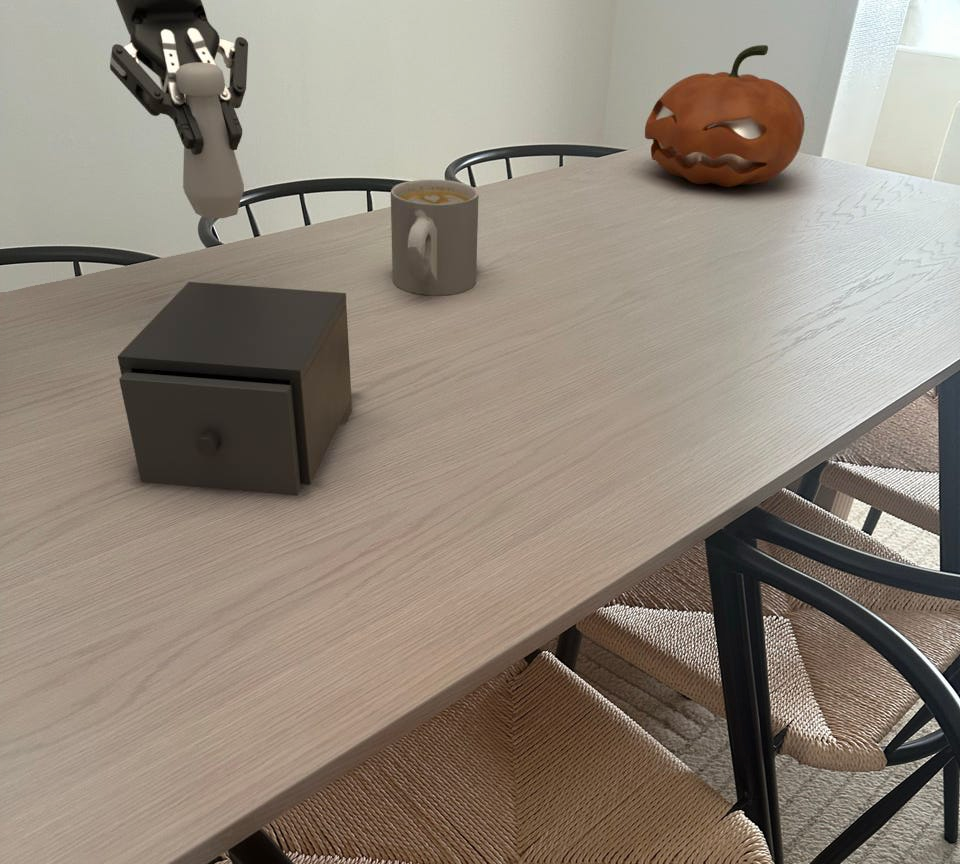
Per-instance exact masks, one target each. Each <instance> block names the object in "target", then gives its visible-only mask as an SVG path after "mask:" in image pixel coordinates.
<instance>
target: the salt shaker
mask: <svg viewBox="0 0 960 864" xmlns="http://www.w3.org/2000/svg"><path fill="white" fill-rule="evenodd" d="M176 81H177V86H178V89H179V91H180V92H181V93H183V94H184V96H185V103H186V105H189V107H190V109H191V112H192V115H193V116H194V117H195V119H196V122H197V124H198V127H199V130H200V132H201V135H202V137H203V141H204V145H203V149H202V153H200V154H196V155H193V154H192V152H191V149H186V147H185V146H184V145H183V173H182V189H183V192H184V194H185V196H186V199H187V200H188V202H189V204H190V206H191V207H192V209H193V211H194V213H195V214H196V215H198V216H200V217H202V218H204V219H226V218H229V217H234V216H236V215H238V213H239V208H240V204H241V200H242V198H243V195H244V193H245V184H244V181H243V177H242V173H241V170H240V167H239V164H238V159H237V156H236V152H235V150H232V149H230V143H229V137H228V132H227V129H226V125H225V121H224V117H223V112H222V108H221V104H220V101H219V97H218V95H220V94H222V93H223V92H224V89H225V85H226V83H225V75H224V72H223V70H222V69H221V68H220V67H219V65H217V66H216V65H213V64H210V63H188V64H184V65H181V66H180V67H179V68H178V70H177V71H176Z"/></svg>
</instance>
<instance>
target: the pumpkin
mask: <svg viewBox="0 0 960 864" xmlns="http://www.w3.org/2000/svg"><path fill="white" fill-rule="evenodd" d="M768 51H769V46H768V45H767V44H761V45H760V44H759V45H754V46H753V45H752V46H749V47H746V48H745V49H744V50H742V51H740V52H739V54H738V55H737V56H736V58H735V60H734V62H733V64H732V68H731V71H730V73H729V72H727V71H719V72H716V73H714V74H711V73H705V72H704V73H703V72H702V73H696V74H692V75H689V76H687V77H685V78H683V79H680V80H679V81H677V82H675V83H674V84H673V85H672V86H670V87H669V88H668V89H667V90H666V91H665V92H663V94H662V95H661V96H660V97H659V99H658V100H657V101H656V102H655V104H654V105H653V108H652V110H651V112H650V114H649V116H648V118H647V120H646V121H645V127H644V139H646V140H652V144H651V146H650V156H651V159H652V160H653V161H655V162H656V163H657V164H658V165H660V167H662V169H664V170H666V171H667V172H669V173H670V174H672V175H674V176H677V177H679V178H684V179H686V180H688V181H689V182H691V183H692V184H696V185H708V184H715V185H717V186H719V187H721V188H722V187H723V188H732V187H735V186H738V185H742V186H749V185H751V186H752V185H756V184H761V183H764V182H766V181H768V180H771V179H772V178H775V177H777V175H779V174H781V173H782V172H783V171H784V170H786V169H787V168H788V167H789V165H791V163H792V162H793V161H794V159H795V158H796V157H797V155H798V152H799V151H800V148H801V146H802V140H803V137H804V133H805V125H806V124H805V116H804V112H803V109H802V107H801V106H800V103H799V102H798V100H797V98H796V97H795V96H794V95H793V94H792V93H791V92H790V91H789V90H788V89H787V88H786V87H784V86H783V85H781V84H779V83H778V82H776V81H773V80H771V79H768V78H759V77H758V76H756V75H754V74H749V73H747V74H744V73H743V74H740V75H739V68H740V66H741V64H742V62H743V61H744V60H746V59H747V58H749V57H754V56H766V55H767V54H768Z"/></svg>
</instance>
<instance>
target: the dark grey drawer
mask: <svg viewBox="0 0 960 864" xmlns="http://www.w3.org/2000/svg"><path fill="white" fill-rule="evenodd" d="M118 380H119V385H120V389H121V395H122V399H123V405H124V409H125V413H126V418H127V422H128V427H129V432H130V437H131V442H132V447H133V451H134V456H135V461H136V466H137V470H138V474H139V479H140V482H141V483H145V484H146V483H147V484H158V485H170V486H179V487H181V486H182V487H193V488H203V489H205V488H206V489H214V490H215V489H217V490H227V491H228V490H230V491H240V492H249V493H250V492H252V493H261V494H262V493H264V494H275V495H276V494H277V495H287V496H298V495H299V493H300V492H301V489H302V486H301V485H302V484H301V483H300V473H299V462H298V452H297V441H296V431H295V420H294V410H293V400H292V389H291V385H290V380H277V379H264V378H251V377H239V376H226V375H213V374H200V373H187V372H175V371H162V370H149V369H144V374H141V373H128V372H125V373H124V374H123V375H121V376H120V377H119V378H118Z"/></svg>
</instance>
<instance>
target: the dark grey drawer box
mask: <svg viewBox="0 0 960 864" xmlns="http://www.w3.org/2000/svg"><path fill="white" fill-rule="evenodd" d="M347 307H348V306H347V293H346V292H337V291H321V290H308V289H295V288H294V289H293V288H280V287H279V288H278V287H268V286H267V287H265V286H253V285H238V284H224V283H213V282H212V283H211V282H198V281H188V282H187V283H186V284H185V285H184V286H183V287H182V288H181V289H180V290H179V291H178V293H176V295H174V297H173V298H172V299H170V301H168V303H167V304H166V305H165V306H164V307H163V308H162V309H161V310H160V311H159V312H158V313H157V314H156V315H155V316H154V317H153V319H152V320H150V322H149V323H148V324H147V325H146V326H145V327H144V328H143V329H142V330H141V331H140V332H139V333H138V334H137V335H136V336H135V337H134V339H132V340H131V342H130V343H129V344H127V345H126V347H125V348H124V349H123V350H122V351H121V352H120V353H119V354H118V355H117V360H118V366H119V370H120V374H121V376H122V375H123V374H124V373H125V372H128V373H141V374H144V369H149V370H162V371H175V372H187V373H200V374H213V375H226V376H239V377H251V378H264V379H277V380H290V385H291V389H292V400H293V410H294V420H295V431H296V441H297V452H298V462H299V473H300V483H301V485H306V486H310V485H312V482H313V481H314V478H315V476H316V474H317V472H318V470H319V468H320V466H321V464H322V461H323V460H324V457H325V456H326V453H327V451H328V449H329V447H330V445H331V442H332V440H333V438H334V436H335V434H336V432H337V430H338V428H339V425H343V426H344V425H346V423H347V421H348V419H349V417H350V415H351V413H352V410H353V400H352V398H353V397H352V382H351V365H350V364H351V362H350V361H351V360H350V346H349V345H350V344H349V327H348V326H349V325H348V308H347Z"/></svg>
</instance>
